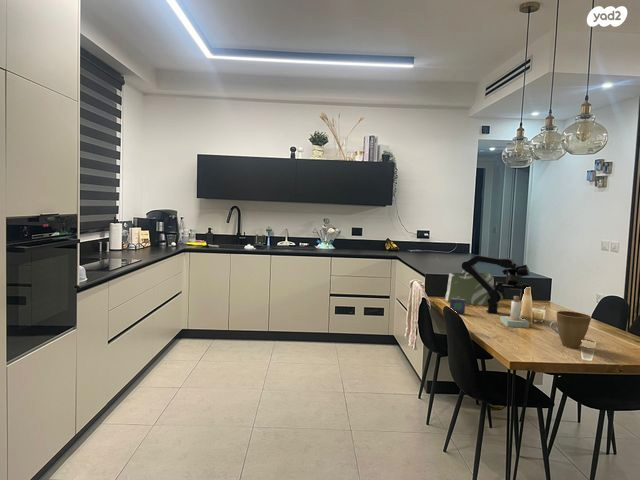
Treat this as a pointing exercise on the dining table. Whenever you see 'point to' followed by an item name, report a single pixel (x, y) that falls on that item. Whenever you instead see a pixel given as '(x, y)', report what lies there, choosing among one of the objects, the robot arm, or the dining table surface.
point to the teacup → (556, 328)
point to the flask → (458, 305)
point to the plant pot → (572, 327)
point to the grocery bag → (468, 288)
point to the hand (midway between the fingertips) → (512, 298)
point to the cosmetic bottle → (515, 308)
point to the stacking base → (514, 322)
